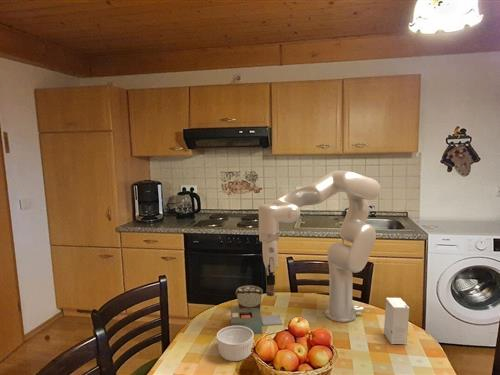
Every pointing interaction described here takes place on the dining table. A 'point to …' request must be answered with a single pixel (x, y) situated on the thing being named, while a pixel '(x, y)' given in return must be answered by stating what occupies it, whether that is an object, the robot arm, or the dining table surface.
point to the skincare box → (396, 320)
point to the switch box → (247, 319)
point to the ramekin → (235, 342)
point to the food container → (249, 297)
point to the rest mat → (271, 320)
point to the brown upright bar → (269, 288)
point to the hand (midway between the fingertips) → (270, 282)
